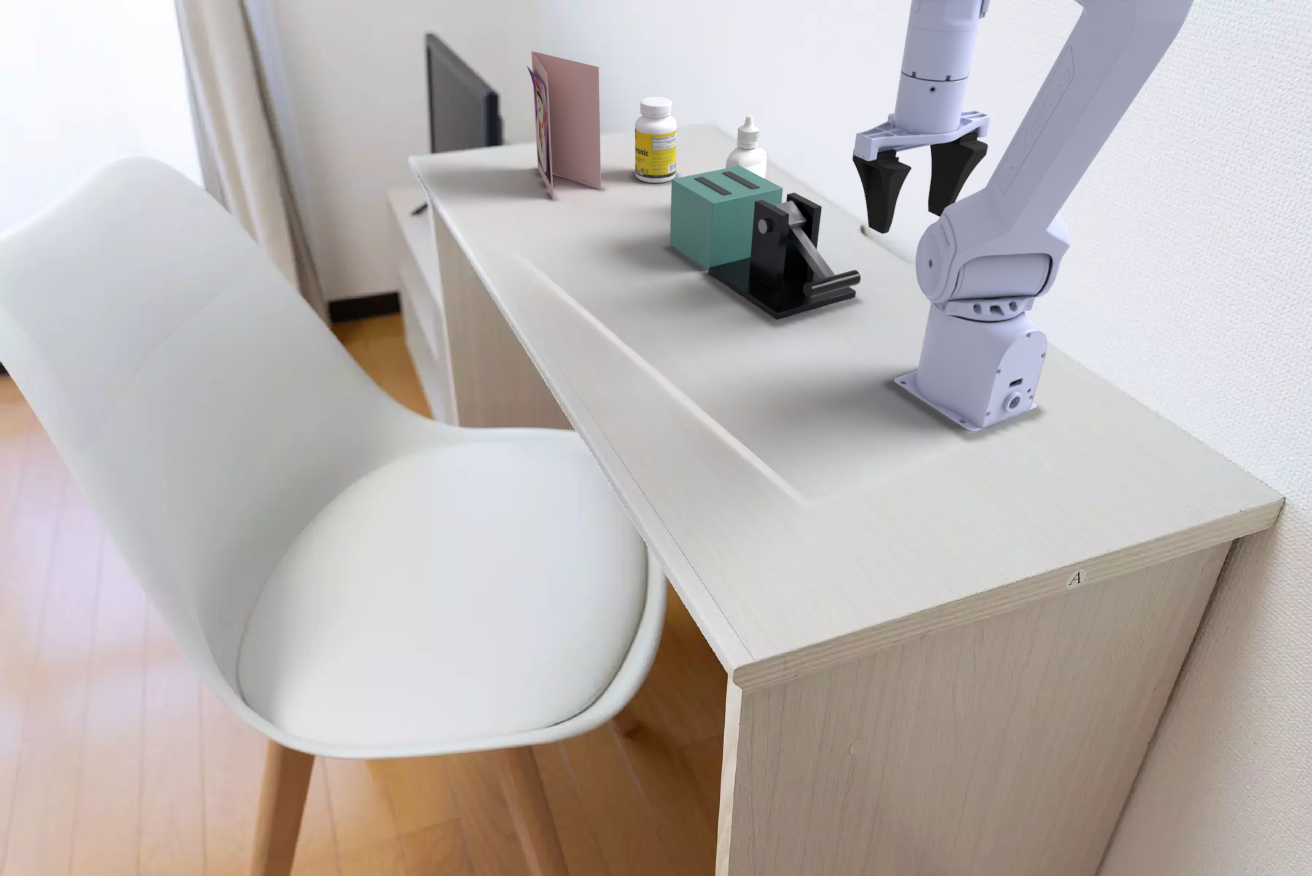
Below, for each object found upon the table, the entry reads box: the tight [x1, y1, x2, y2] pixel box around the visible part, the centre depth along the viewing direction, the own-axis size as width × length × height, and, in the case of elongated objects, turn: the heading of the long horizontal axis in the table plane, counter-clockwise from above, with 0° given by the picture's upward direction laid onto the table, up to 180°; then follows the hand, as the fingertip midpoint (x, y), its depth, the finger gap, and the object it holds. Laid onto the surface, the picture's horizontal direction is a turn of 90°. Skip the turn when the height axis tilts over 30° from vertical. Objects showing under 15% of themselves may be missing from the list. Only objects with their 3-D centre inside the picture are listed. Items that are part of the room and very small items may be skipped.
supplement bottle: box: [634, 96, 678, 184], centre depth 125 cm, size 5×5×10 cm
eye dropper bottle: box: [725, 115, 767, 179], centre depth 113 cm, size 4×6×12 cm
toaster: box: [669, 166, 784, 271], centre depth 105 cm, size 8×9×8 cm
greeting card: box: [526, 50, 602, 199], centre depth 121 cm, size 11×7×15 cm, turn 15°
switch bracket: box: [707, 192, 857, 321], centre depth 98 cm, size 12×10×9 cm
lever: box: [774, 201, 862, 298], centre depth 95 cm, size 11×6×2 cm, turn 31°
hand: (908, 222), depth 91 cm, fingers open, 7 cm apart
